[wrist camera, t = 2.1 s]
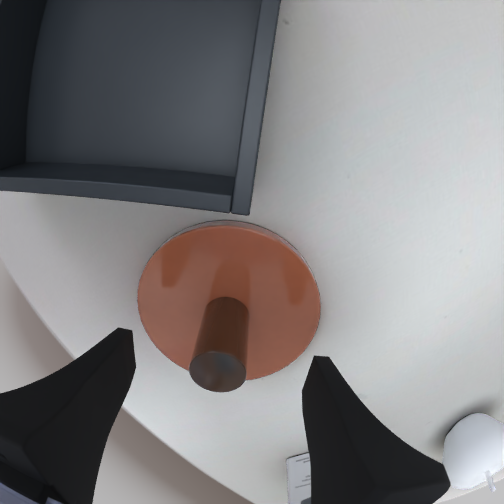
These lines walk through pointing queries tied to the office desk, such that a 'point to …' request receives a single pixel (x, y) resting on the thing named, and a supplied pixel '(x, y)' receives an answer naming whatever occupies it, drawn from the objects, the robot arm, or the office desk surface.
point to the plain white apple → (474, 451)
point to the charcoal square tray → (135, 99)
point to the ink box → (299, 479)
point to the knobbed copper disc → (228, 302)
